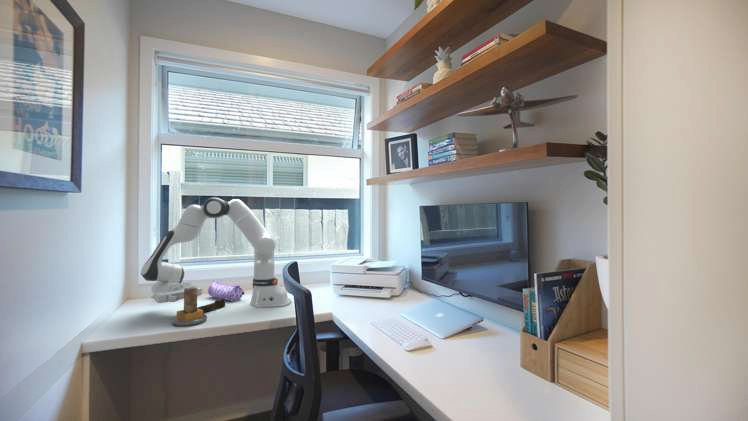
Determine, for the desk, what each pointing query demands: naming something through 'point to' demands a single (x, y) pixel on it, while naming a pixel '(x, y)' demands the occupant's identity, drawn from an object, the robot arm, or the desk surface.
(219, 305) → the hand tool
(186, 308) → the brown wooden block
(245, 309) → the desk surface
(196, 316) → the collar base
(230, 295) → the pencil case
